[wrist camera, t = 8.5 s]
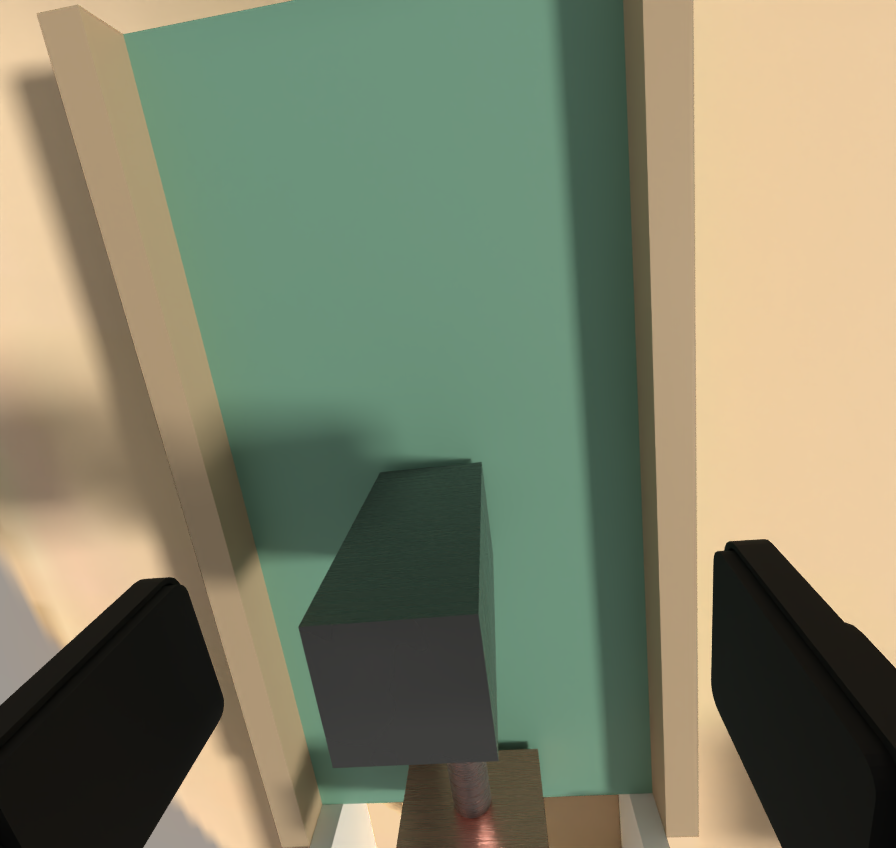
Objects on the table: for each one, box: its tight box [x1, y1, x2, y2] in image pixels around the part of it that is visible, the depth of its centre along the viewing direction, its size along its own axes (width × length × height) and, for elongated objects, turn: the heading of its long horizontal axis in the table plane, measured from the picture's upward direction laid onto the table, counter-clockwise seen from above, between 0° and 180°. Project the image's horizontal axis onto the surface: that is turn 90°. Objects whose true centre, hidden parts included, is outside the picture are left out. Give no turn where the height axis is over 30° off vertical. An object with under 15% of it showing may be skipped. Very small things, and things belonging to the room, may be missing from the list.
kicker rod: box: [298, 462, 549, 848], centre depth 14 cm, size 12×4×7 cm, turn 8°
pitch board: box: [37, 0, 699, 848], centre depth 16 cm, size 25×14×4 cm, turn 8°
